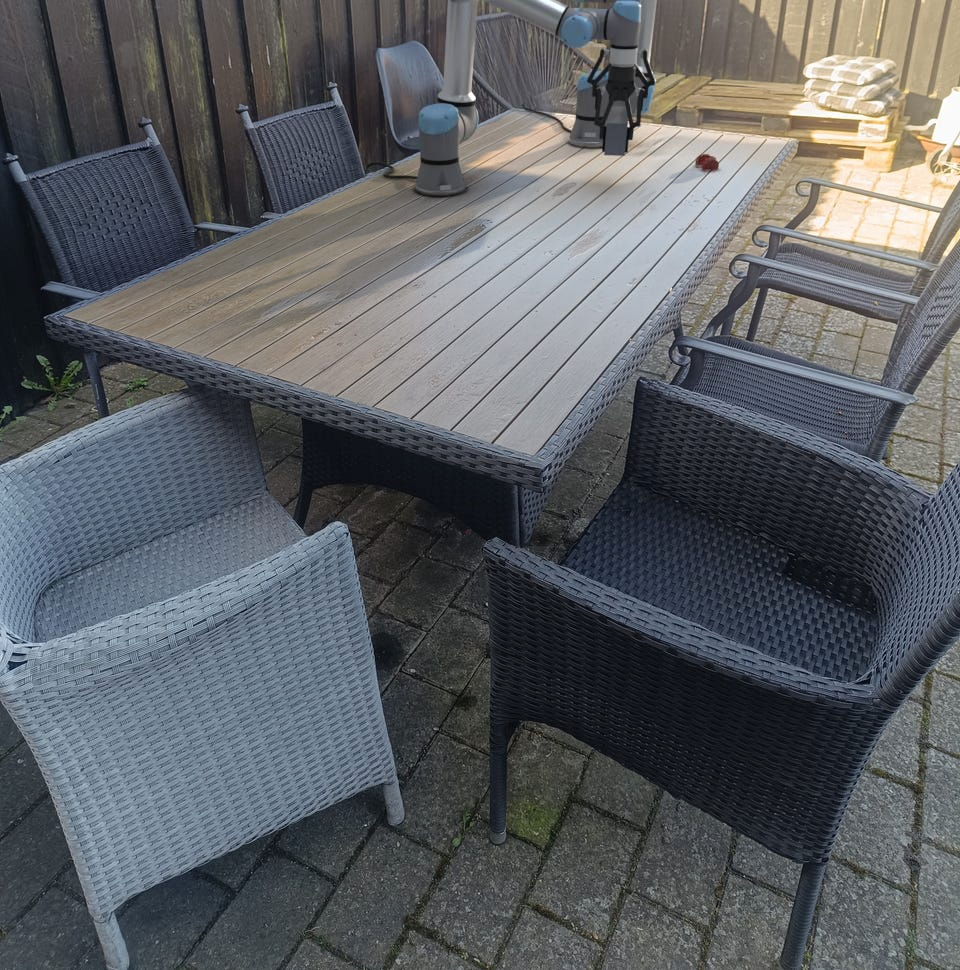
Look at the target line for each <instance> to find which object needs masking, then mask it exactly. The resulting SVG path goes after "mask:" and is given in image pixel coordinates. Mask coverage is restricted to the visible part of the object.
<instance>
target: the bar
mask: <svg viewBox="0 0 960 970" xmlns="http://www.w3.org/2000/svg"><path fill="white" fill-rule="evenodd" d="M627 127H629V121H628V116H627V110H626V107H625V106H612V107H611V110H610V113H609V115H608V118H607V127H606V139H605V151H604V152H603V155H604V156H613V157H614V156H617V157H625V156H626V155H625V154H626V153H625V147H626V137H627Z"/></svg>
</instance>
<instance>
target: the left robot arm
mask: <svg viewBox="0 0 960 970" xmlns="http://www.w3.org/2000/svg"><path fill="white" fill-rule="evenodd" d="M482 1H483V2H485V3H487V4H489V5H491V6H494V7H495V8H497V9H500V10H502V11H504V12H506V13H507V14H510V15H512V16H514V17H515V18H518V19H520V20H522V21H524V22H527V23H528V24H531V25H532V26H535V27H537V28H538V29H540V30H543V31H545V32H547V33H549V34H551V35H553V36H555V37H557V38H559V39H561V40H562V41H563V43H564V44H565V45H566V46H567V47H569V48H571V49H578V48H582V47H584V46H586V45H587V44H589V42H591V41H592V40H600V41H602V40H603V41H610V47H609V50H610V55H609V58H608V59H609V61H608V63H609V62H610V63H611V65H610V66H609V72H608V82H607V84H606V86H603V87H597V90H596V92H597V97H598V98H597V106H596V113H595V120H594V124H595V125H597V126H599V127H600V134H599V138H600V139H603V146H602V147H601V152H602V153H604V151H605V139H606V127H607V126H605V123H606V120H607V118H608V115H609V113H610V110H611V107H612V105H613V102H614V101H619V100H620V101H625V105H626V110H627V116H628V126H627V137H626V147H625V154H627V153H628V152H629V151H628V150H629V141H633V140H634V132H635V128H639V127H641V124H642V123H641V122H642V115H641V103H642V97H643V94H644V89H643V88H638V87H636V85H635V72H636V67H635V65H634V64H636V62H637V52H638V41H639V32H640V23H641V4H640V3H639V2H637V1H616V2H615V3H613V7H612V8H595V7H593V8H592V7H584V6H582V7H570V6H569V5H566V4H565V3H562V2H561V1H558V0H482ZM479 2H480V0H447V6H446V23H445V24H446V26H445V44H444V45H445V46H444V65H443V83H442V89H441V91H440V92H439V93H438V94H437V102H436V103H433V104H429V105H425V106H424V107H422V109H420V111H419V113H418V122H417V124H418V136H419V138H418V139H419V157H420V158H419V159H420V161H419V162H420V164H419V168H418V172H417V175H407V174H402V175H401V174H399V175H398V174H397V175H395V174H393V175H392V174H391V173H393V172H394V171H395V167H394V166H392V165H390V164H388V163H385V162H381V161H372V162H370V163H368V164H367V165H365V166H366V168H370V167H372V166H375V165H376V166H377V165H378V166H383V167H386V168H389V169H388V170H387V171H385V172H383V177H384V178H388V179H410V180H415V185H414V186H415V192H417V193H418V194H420V195H424V196H430V197H450V196H455V195H459V194H461V193H463V192H464V191H466V181H465V179H464V176H463V172H462V169H461V165H460V144H462V143H463V142H467V141H468V140H469V139H470V138H471V137H472V136H473V134H474V133H475V132H476V130H477V128H478V125H479V119H480V118H479V112H478V109H477V108H476V101H477V98H476V96H475V94H474V93H473V92H472V86H473V72H474V60H475V59H474V57H475V43H476V31H477V17H478V3H479ZM605 90H606V91H607V92H608V94H609V96H610V99H609V102H608V105H607V108H606V110H605V113H604V116H603V118H602V121H599V115H600V108H601V101H602V95H604V91H605ZM634 91H635V92H636V96H637V114H636V119H635V120H636V121H634V117H633V116H634V115H633V114H632V111H631V106H630V101H629V97H630V96H631V95H632V93H633V92H634ZM390 174H391V175H390Z"/></svg>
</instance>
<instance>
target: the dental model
mask: <svg viewBox="0 0 960 970" xmlns="http://www.w3.org/2000/svg"><path fill="white" fill-rule="evenodd" d="M694 163H695V164H694V166H695V167H698V166H701V170H702V171H711V170H718V169H719V167H720V163H719V161H718V159H717V157H716V156H713V155H710V154H709V153H701V154H700V155H698V156H697V157H696V159H695V162H694Z"/></svg>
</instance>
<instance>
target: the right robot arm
mask: <svg viewBox="0 0 960 970" xmlns="http://www.w3.org/2000/svg"><path fill="white" fill-rule="evenodd" d="M616 1H637V2H639V3H640V4H641V23H640V32H639V41H638V52H637V62H636V64H634V65H635V67H636V72H635V85H636V87H638V88H643V89H644V94H643V97H642V103H641V116H642V115H643V116H644V115H646V114H647V113H649V111H650V108H651V105H652V103H653V99H654V95H655V91H656V84H657V79H656V78H655V76H654V72H653V71H652V68H651V64H650V62H651V55H652V45H653V36H654V35H653V34H654V27H655V19H656V11H657V2H658V1H657V0H571V2H573V3H580V4H585V3H587V4H588V3H590V4H591V3H592V4H614V3H615V2H616ZM607 55H609V56H610V49H605V48H604V47H602V48H601V49H600V51H599V56H598V58H597V60H596V62H595V63H594V66H593V67H592V70H591V71H590V72H586V73H584V74H581V75H580V76H579V77H578V79H577V80H578V81H577V88H576V106H575V107H576V108H575V120H574V123H573V125H572V128H571V129H569V128H567V127H565V126H564V123H563V122H562V121H561V120H560V119H559V118H557V117H556V116H555V115H551V114H548V113H547V112H546V113H545V112H543V111H540V110H537V109H536V110H535V109H531V108H529V107H526V105H525V104H526V103H525V102H522V105H521V106H522V108H523V110H525V111H527V112H531V113H534V114H535V113H536V114H539V115H542V116H545V117H548V118H550V119H553V120H555V121H556V122H558V123H559V124H560V126H561V128H562V129H563V130H565V131H566V132H568V133H570V134H569V138H568V143H569V144H570V145H571V146H573V147H574V146H575V147H579V148H586V149H597V148H602V146H603V139H600V138H599V134H600V127H599V126H597V125H595V124H594V120H595V113H596V106H597V98H598V97H597V92H596V90H597V87H603V86H606V84H607V82H608V72H609V66H610V65H611V63H610V62H609V61H608V63H607V64H606V66H605V67H604V68H603V69H602V70H598V69H599V67H600V65H601V64H602V62H603V60H604V58H606V57H607ZM609 99H610V96H609V94H608V92H607V91H606V90H605V91H604V95H602V101H601V108H600V115H599V121H602V118H603V116H604V113H605V110H606V108H607V105H608V102H609ZM629 101H630V106H631V111H632V115H633V116H637V96H636V92H635V91H634V92H633V93H632V95H631V96H630V97H629ZM612 106H625V107H626V105H625V101H620V100H619V101H614V102H613V105H612ZM605 126H607V120H606V123H605Z"/></svg>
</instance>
